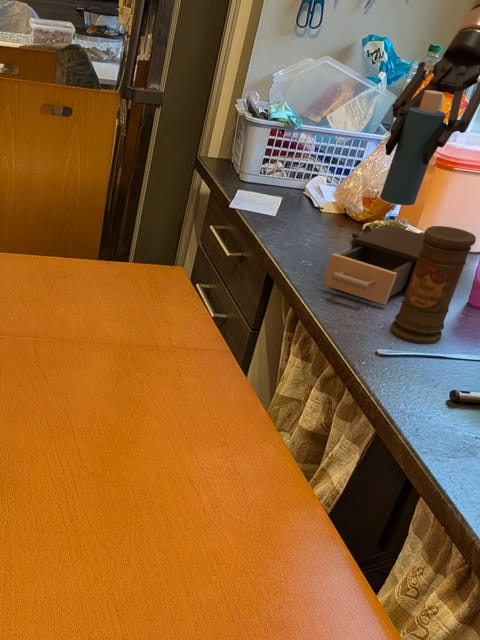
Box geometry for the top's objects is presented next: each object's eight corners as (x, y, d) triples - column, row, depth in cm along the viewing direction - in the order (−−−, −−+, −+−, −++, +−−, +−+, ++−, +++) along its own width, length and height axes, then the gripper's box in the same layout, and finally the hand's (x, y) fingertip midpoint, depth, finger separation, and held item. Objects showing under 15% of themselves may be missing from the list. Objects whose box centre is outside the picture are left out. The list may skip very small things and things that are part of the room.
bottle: (419, 202, 176) (458, 94, 164) (406, 207, 172) (445, 97, 161) (387, 193, 179) (423, 87, 167) (374, 198, 175) (410, 89, 163)
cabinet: (407, 298, 187) (422, 258, 182) (341, 276, 193) (354, 238, 188) (437, 280, 197) (452, 242, 192) (374, 261, 203) (386, 224, 198)
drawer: (375, 309, 177) (386, 278, 173) (313, 289, 183) (322, 258, 179) (414, 287, 189) (425, 258, 185) (354, 269, 195) (364, 239, 191)
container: (398, 321, 176) (432, 221, 164) (445, 334, 172) (484, 233, 160) (383, 334, 170) (417, 232, 158) (432, 348, 166) (470, 244, 155)
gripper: (525, 71, 166) (457, 181, 167) (422, 51, 175) (357, 156, 176) (530, 37, 160) (459, 152, 160) (422, 18, 169) (355, 127, 169)
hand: (406, 154), depth 168 cm, fingers closed on bottle, 6 cm apart
